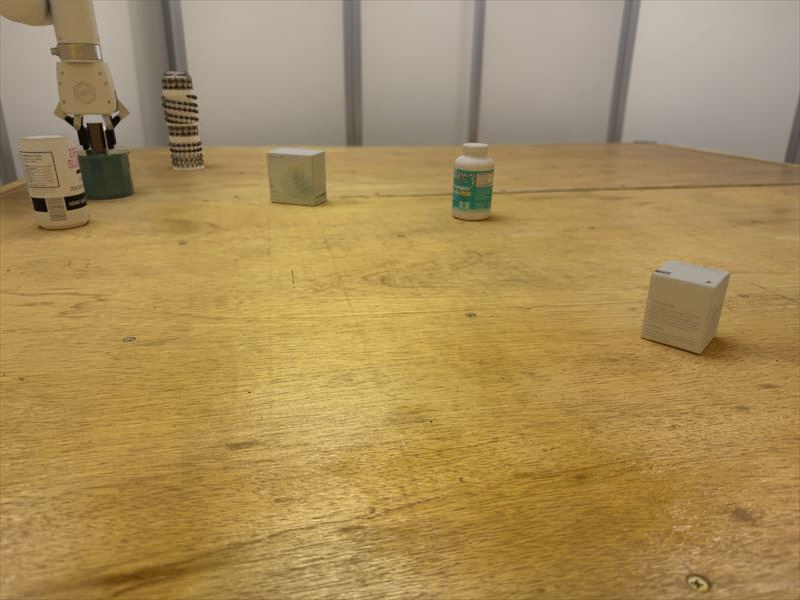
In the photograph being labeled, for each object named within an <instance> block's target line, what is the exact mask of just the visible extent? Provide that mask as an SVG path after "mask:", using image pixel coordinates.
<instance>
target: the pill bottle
mask: <svg viewBox="0 0 800 600" xmlns="http://www.w3.org/2000/svg"><path fill="white" fill-rule="evenodd" d="M462 153H463V154H462V155H460V156H458V157H457V158H456V159H455V160H454V163H453V164H454V165H453V180H452V181H453V183H452V200H451V201H452V203H451V214H452V216H453V217H455V218H456V219H459V220H465V221H482V220H486V219H488V218H489V217H490V216H491V212H492V200H493V188H494V176H495V175H494V174H495V161H494V160H493V159H492V158H491V157H489V156H488V155H487V154H488V153H489V144H487V143H480V142H469V143H468V142H467V143H465V142H464V143H463V144H462Z"/></svg>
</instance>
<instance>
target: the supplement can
mask: <svg viewBox="0 0 800 600" xmlns="http://www.w3.org/2000/svg"><path fill="white" fill-rule="evenodd" d="M17 150H18V153H19V157H20V161H21V165H22V170H23V173H24V177H25V182H26V185H27V190H28V195H29V198H30V202H31V206H32V211H33V214H34V218H35V223H36V225H38V226H39V227H40V226H41V228H43V229H46V230H63V229H64V230H66V229H71V228H77V227H81V226H83V225H86V224H87V223H88V220H89V219H90V218H91V216H90V211H89V206H88V202H87V201H88V200H87V199H86V196H85V191H84V187H83V182H82V177H81V172H80V167H79V163H78V158H77V153H76V151H77V149H76V145H75V143H74V142H73V141H72V138H70V136H69V135H68V134H66V133H65V134H62V133H44V134H43V133H42V134H28V135H27V134H26V135H21V136H19V142H18V145H17Z"/></svg>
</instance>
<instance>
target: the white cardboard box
mask: <svg viewBox="0 0 800 600" xmlns="http://www.w3.org/2000/svg"><path fill="white" fill-rule="evenodd" d="M730 279H731V272H730V271H727V270H721V269H717V268H711V267H706V266H701V265H698V264H697V265H696V264H693V263H687V262H683V261H678V260H673V259H670V260H668V261H667V262H665V263H664V264H662V265H661V266H660V267H658V268H657V269H656V270H654V271H652V272H651V275H650V280H649V286H648V292H647V297H646V304H645V309H644V315H643V320H642V325H641V326H642V327H641V331H640V338H641V339H645V340H649V341H653V342H656V343H661V344H664V345H666V346H667V345H668V346H671V347H673V348H677V349H681V350H685V351H688V352H691V353H695V354H698V355H701V354H702V352H704V350H705V349H706V348H707V346H708V345H709V344H710V343H711V341H712V340H713V339H714V338H715V336H716V335H717V332H718V327H719V324H720V319H721V316H722V311H723V306H724V302H725V300H726V295H727V290H728V287H729V283H730Z"/></svg>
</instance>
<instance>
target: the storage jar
mask: <svg viewBox="0 0 800 600" xmlns="http://www.w3.org/2000/svg"><path fill="white" fill-rule="evenodd" d="M78 163H79V167H80V172H81V177H82V182H83V187H84V191H85V196H86V200H94V201H95V200H99V201H100V200H101V201H102V200H114V199H120V198H121V199H122V198H126V197H129V196H132V195H134V194H135V188H134V181H133V175H132V170H131V165H130V158H129V155H126V156H121V157H113V158H98V159H81V158H78Z"/></svg>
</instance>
